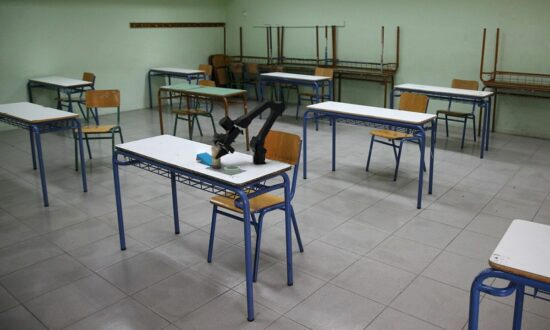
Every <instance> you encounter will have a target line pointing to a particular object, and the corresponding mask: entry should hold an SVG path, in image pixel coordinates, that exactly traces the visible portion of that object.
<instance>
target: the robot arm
mask: <svg viewBox="0 0 550 330" xmlns="http://www.w3.org/2000/svg"><path fill="white" fill-rule="evenodd" d="M267 109H269V110H270V111H269V115H268V117H267V119H266V120H265V122H264V123H263V124H262V127H261V128H260V130H259V132H258V134H257V135H256V136H255V135H253V136H252V137H251V139H250V140H249V144H248V145H249V148H250V150H251V152H253V154H252V163H253V164H254V165H263V164H267V162H266V154H267V151H268V150H267V148H265V142H266V138H267V136H268V134H269V133H270V132H271V129H272V127H273V126H274V124H275V122H276V120H277V119H278V118H279V117H280V116H282V114H283V113H284V112H285V111H286V109H287V106H286V104H285V103H284V102H282V101H277V100H276V101H270V100H262V102H261V103H260V104H258V105H257V106H255V107H254V108H253V109H251V110H250V111H249V112H247V113H245V114H242V115H240V116H238V117H237V118H235V119H232V118H231V117H230V116H229V115H225V116H224V117H222V118H220V119H219V121H218V126H219V127H221V128H222V129H223V130H224V131H226V133H222V132H220V133H218V132H214V134H213V136H212V138H213V140H212V141H211V142H212V143H213V146H220V151H219V152H218V154H217V156H216V157H215V159H218V158H220V157H221V158H222V157H224V156H226V155H229V154H231V155H233V154H234V153H235V152H236V151H235V148H234V147H233V146H232V145H233V143H235V142H236V140H237V138H238V137H239V135H241V136H244V134H245V133H244V130H243V129H247V128H248V127H249V125H251V124H252V121H253V120H254V119H255V118H257V117H258V116H259V115H261V114H262V113H264V112H265V111H266V110H267Z"/></svg>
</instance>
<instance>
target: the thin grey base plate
mask: <svg viewBox="0 0 550 330" xmlns="http://www.w3.org/2000/svg"><path fill="white" fill-rule="evenodd" d="M205 169H206V170H208V171H209V170H210V171H213V172H216V173H221V174H224V175H227V176H229V177H233V176H235V175H238V174H242V173H245V172H247V170H246V169H242V168H241V166H239V165H234V164H233V165H227V164H223V163H221V168H220V169H213V168H212V166H211V167H210V166H208V167H205Z"/></svg>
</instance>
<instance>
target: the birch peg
mask: <svg viewBox="0 0 550 330" xmlns="http://www.w3.org/2000/svg"><path fill="white" fill-rule="evenodd" d="M210 148H211V156H212V168H213V169H220V168H221V164H222V162H221V158H222V157H220V158H218V159H215V157H216V156H217V154H218V152H219V151H220V146H214V145H212V146H210Z"/></svg>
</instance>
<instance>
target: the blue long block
mask: <svg viewBox="0 0 550 330" xmlns="http://www.w3.org/2000/svg"><path fill="white" fill-rule="evenodd" d="M195 161H197V162H200V163H202V164H204V166H208V167H211V166H212V154H210V153H208V152H201V153H197V154H196V158H195Z"/></svg>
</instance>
